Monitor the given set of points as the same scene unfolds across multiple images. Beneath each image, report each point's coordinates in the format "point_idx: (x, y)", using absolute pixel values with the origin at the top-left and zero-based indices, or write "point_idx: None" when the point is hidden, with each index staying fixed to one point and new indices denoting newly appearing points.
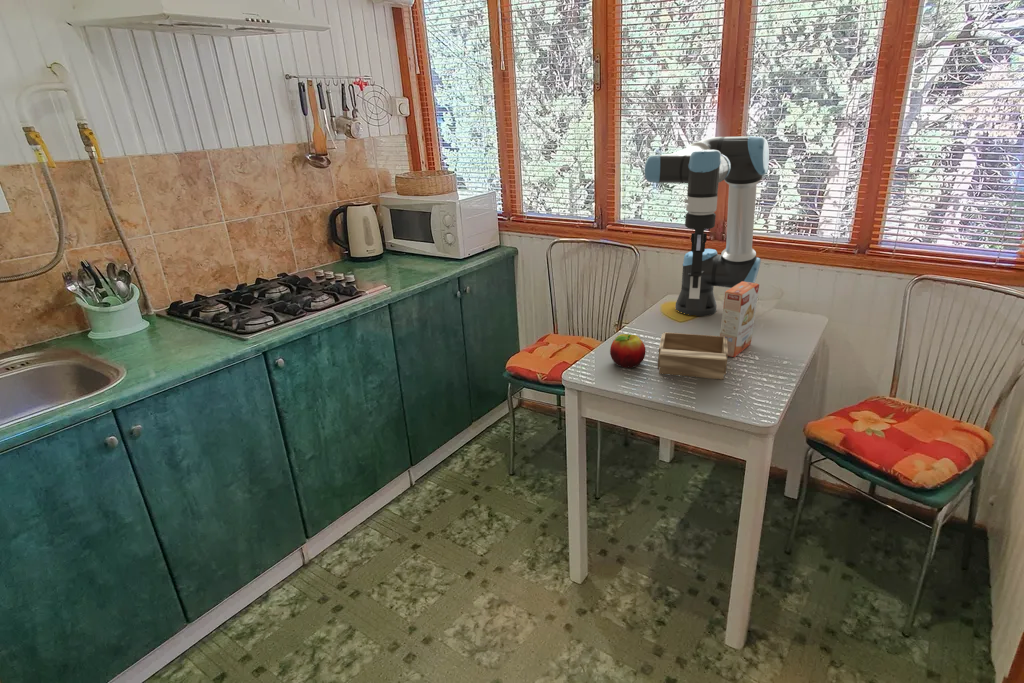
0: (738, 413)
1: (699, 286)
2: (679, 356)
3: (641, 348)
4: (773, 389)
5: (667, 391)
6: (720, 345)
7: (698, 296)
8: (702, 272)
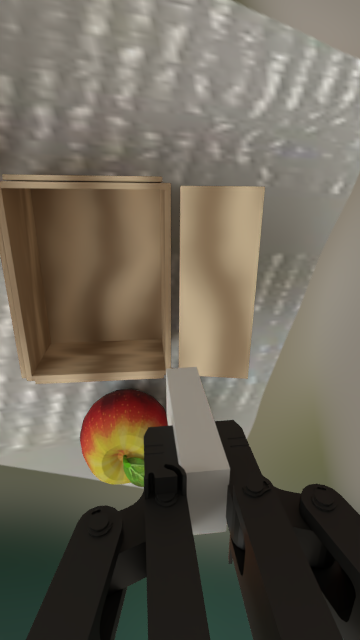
0: (344, 153)
1: (211, 415)
2: (251, 326)
3: (145, 414)
4: (197, 33)
5: (253, 315)
6: (14, 194)
7: (199, 378)
8: (185, 482)
